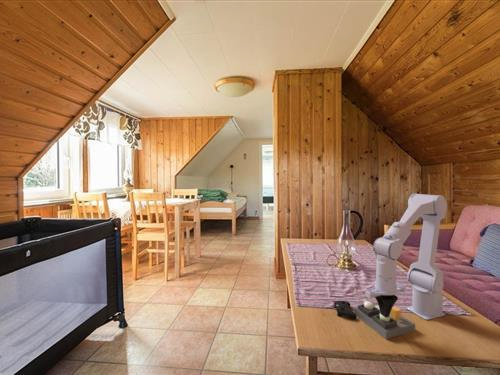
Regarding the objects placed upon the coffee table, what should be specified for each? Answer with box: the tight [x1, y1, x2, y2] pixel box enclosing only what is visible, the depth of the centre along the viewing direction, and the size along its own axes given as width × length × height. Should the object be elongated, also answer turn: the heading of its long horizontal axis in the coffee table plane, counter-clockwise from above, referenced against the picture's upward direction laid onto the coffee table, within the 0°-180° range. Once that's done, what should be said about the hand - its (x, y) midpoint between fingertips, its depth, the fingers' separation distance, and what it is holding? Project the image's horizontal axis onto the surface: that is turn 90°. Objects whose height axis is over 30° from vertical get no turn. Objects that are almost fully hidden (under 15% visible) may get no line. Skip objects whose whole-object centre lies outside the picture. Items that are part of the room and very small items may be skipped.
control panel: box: [354, 302, 416, 340], centre depth 86 cm, size 12×14×4 cm
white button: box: [363, 300, 374, 311], centre depth 88 cm, size 3×3×2 cm
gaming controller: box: [333, 300, 358, 320], centre depth 92 cm, size 10×5×6 cm
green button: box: [380, 313, 390, 323], centre depth 81 cm, size 3×3×2 cm
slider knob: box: [390, 305, 402, 320], centre depth 84 cm, size 2×2×3 cm
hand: (384, 315), depth 81 cm, fingers closed, pressing on green button
